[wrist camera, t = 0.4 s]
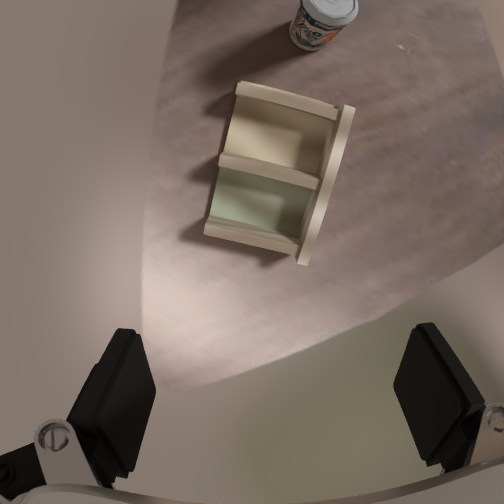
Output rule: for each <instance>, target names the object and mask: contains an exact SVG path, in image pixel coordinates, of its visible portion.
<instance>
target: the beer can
mask: <svg viewBox="0 0 504 504" xmlns="http://www.w3.org/2000/svg"><path fill="white" fill-rule="evenodd" d="M357 12H358V2H357V0H300V2H299V4H298V7H297V9H296V12H295V14H294V17H293V19H292V22H291V25H290V29H289V33H290V37H291V39H292V40H293V42H294V43H295V44H296V45H297V46H299V47H300V48H302V49H305V50H309V51H316V50H320V49H323V48H324V47H325V46H327V44H328V43H329V42H330V41H331V40H332V39H333V38H334V37H335V36H336V35H337V34H338V33H339V32H340V31H341V30H342V29H343V28H344V27H345V26H346V25H347V24H348V23H350V22H351V21H352V20H353V19H354V18H355V17H356V15H357Z"/></svg>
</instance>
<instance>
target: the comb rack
mask: <svg viewBox="0 0 504 504" xmlns="http://www.w3.org/2000/svg"><path fill="white" fill-rule="evenodd" d="M235 94H236V95H237V98H236V102H235V106H234V110H233V114H232V118H231V122H230V126H229V131H228V135H227V139H226V143H225V147H224V151H223V152H222V153H221V154H220V158H219V162H218V166H220V169H219V173H218V178H217V182H216V187H215V192H214V196H213V201H212V205H211V210H210V215H209V217H208V219H207V221H206V224H205V228H204V233H203V234H204V235H208V236H213V237H217V238H221V239H226V240H230V241H235V242H239V243H243V244H248V245H252V246H256V247H261V248H265V249H269V250H274V251H278V252H282V253H287V254H291V255H295V258H296V262H297V264H301V265H305V266H307V265H308V262H309V259H310V256H311V253H312V250H313V247H314V244H315V241H316V238H317V235H318V232H319V229H320V226H321V223H322V220H323V217H324V214H325V211H326V208H327V204H328V201H329V198H330V195H331V192H332V189H333V185H334V182H335V179H336V175H337V172H338V169H339V165H340V162H341V159H342V155H343V152H344V148H345V145H346V141H347V138H348V134H349V131H350V127H351V124H352V120H353V116H354V113H355V109H356V108H354V107H351V106H348V105H345V104H344V105H338V106H334V105H331V104H328V103H325V102H321V101H318V100H315V99H312V98H308V97H305V96H301V95H298V94H294V93H291V92H287V91H283V90H280V89H276V88H272V87H268V86H263V85H259V84H255V83H250V82H246V81H241V83H238V84H237V88H236V92H235Z"/></svg>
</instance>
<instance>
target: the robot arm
mask: <svg viewBox="0 0 504 504" xmlns="http://www.w3.org/2000/svg"><path fill="white" fill-rule="evenodd" d="M394 391H395V393H396V396H397V398H398V401H399V403H400V405H401V408H402V411H403V413H404V416H405V418H406V421H407V423H408V425H409V428H410V431H411V433H412V436H413V438H414V441H415V444H416V447H417V449H418V452H419V455H420V457H421V459H422V460H425V461H426V464H427V467H429V466H432V465H435V464H438V463H441V465H442V470H441V472H440V475H439V476H436V477H433V478H429V479H426V480H422V481H419V482H415V483H412V484H408V485H405V486H400V487H396V488H392V489H388V490H384V491H379V492H374V493H369V494H363V495H358V496H352V497H346V498H339V499H332V500H323V501H315V502H304V503H290V504H504V405H503V404H499V403H495V404H491V405H489V406H487V407H486V406H485V405H484V403H485V400H484V398H483V397H482V395H481V394H480V392H479V390H478V388H477V387H476V385H475V384H474V382H473V381H472V379H471V378H470V376H469V374H468V373H467V371H466V370H465V368H464V367H463V365H462V364H461V362H460V360H459V359H458V357H457V356H456V354H455V353H454V352H453V350H452V349H451V347H450V346H449V344H448V343H447V341H446V340H445V338H444V337H443V336H442V334H441V333H440V331H439V330H438V329H437V327H436V326H435V324H433V323H422V324H417V326H416V327H415V328H414V329H412V331H411V334H410V337H409V340H408V343H407V346H406V349H405V352H404V355H403V358H402V361H401V364H400V367H399V369H398V372H397V375H396V377H395V380H394ZM155 394H156V388H155V384H154V381H153V378H152V374H151V371H150V368H149V364H148V361H147V357H146V354H145V350H144V346H143V343H142V339H141V336H140V334H136V332H135V330H133V329H122V328H119V329H117V330H116V332H115V333H114V335H113V337H112V339H111V341H110V343H109V344H108V346H107V348H106V350H105V352H104V353H103V355H102V357H101V359H100V361H99V363H97V364H95V366H94V367H93V369H92V370H91V372H90V374H89V376H88V378H87V380H86V382H85V384H84V386H83V387H82V389H81V391H80V393H79V395H78V397H77V399H76V401H75V403H74V405H73V407H72V409H71V411H70V413H69V415H68V417H67V419H66V421H65V420H62V419H51V420H48V421H46V422H44V423H42V424H41V425H40V426H39V427H38V429H37V430H36V432H35V435H34V442H33V443H31V444H29V445H26V446H24V447H21V448H19V449H16V450H14V451H11V452H9V453H6V454H4V455H1V456H0V504H217V503H203V502H192V501H183V500H174V499H166V498H160V497H153V496H146V495H140V494H135V493H129V492H125V491H119V490H116V488H115V486H114V484H113V483H114V482H115V478H116V476H117V477H121V478H128V474H129V472H133V470H134V468H135V465H136V461H137V458H138V454H139V450H140V447H141V443H142V440H143V436H144V433H145V429H146V426H147V422H148V419H149V416H150V412H151V409H152V406H153V402H154V399H155Z"/></svg>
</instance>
